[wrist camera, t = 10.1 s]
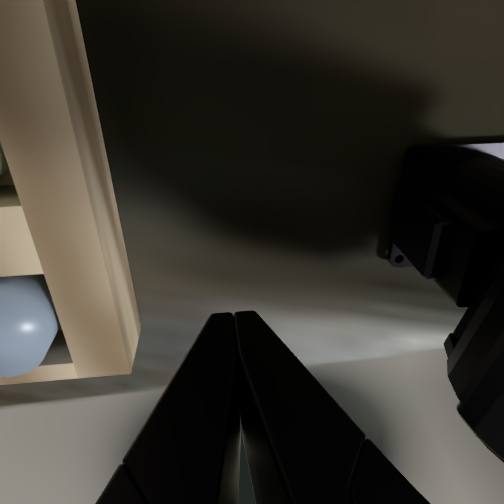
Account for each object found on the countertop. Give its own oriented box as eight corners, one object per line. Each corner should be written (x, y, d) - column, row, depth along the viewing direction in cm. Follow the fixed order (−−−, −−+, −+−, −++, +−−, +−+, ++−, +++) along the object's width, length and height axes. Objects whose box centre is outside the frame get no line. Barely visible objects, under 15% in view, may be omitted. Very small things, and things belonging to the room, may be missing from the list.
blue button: (55, 255, 18) (30, 292, 15) (78, 328, 20) (58, 372, 18) (-45, 261, 18) (-89, 300, 15) (-11, 335, 20) (-45, 381, 17)
